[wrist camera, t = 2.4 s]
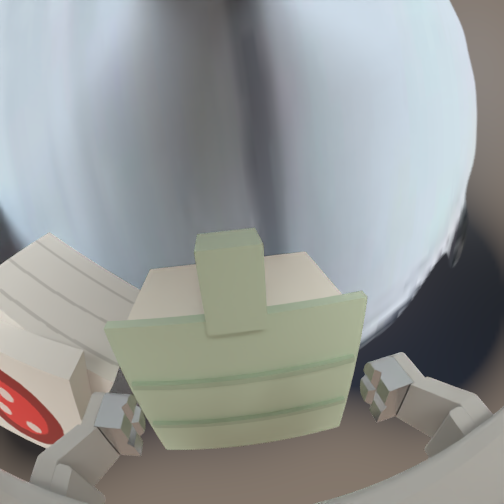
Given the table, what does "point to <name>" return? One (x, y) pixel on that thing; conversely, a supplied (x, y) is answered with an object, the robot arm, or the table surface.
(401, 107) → the table surface
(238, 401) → the lid
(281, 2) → the table surface
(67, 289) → the pizza boxes
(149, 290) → the tub
